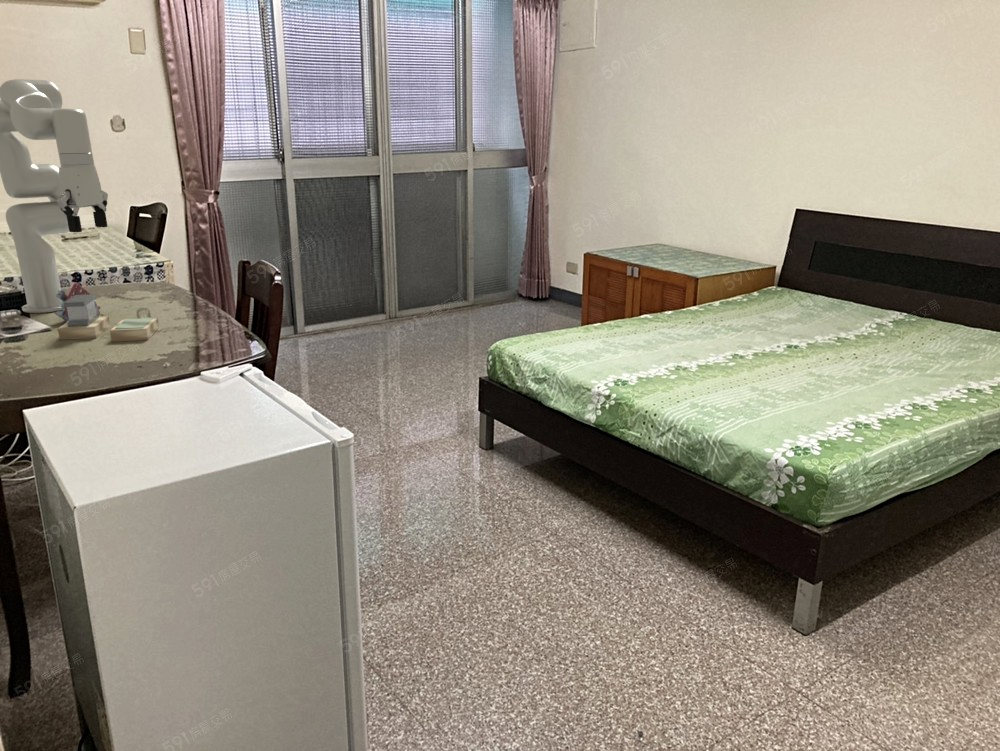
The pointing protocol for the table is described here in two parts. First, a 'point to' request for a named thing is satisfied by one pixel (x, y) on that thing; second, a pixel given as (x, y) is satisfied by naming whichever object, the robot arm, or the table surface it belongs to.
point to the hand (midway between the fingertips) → (89, 229)
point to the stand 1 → (84, 329)
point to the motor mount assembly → (64, 297)
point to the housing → (81, 310)
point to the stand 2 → (134, 329)
